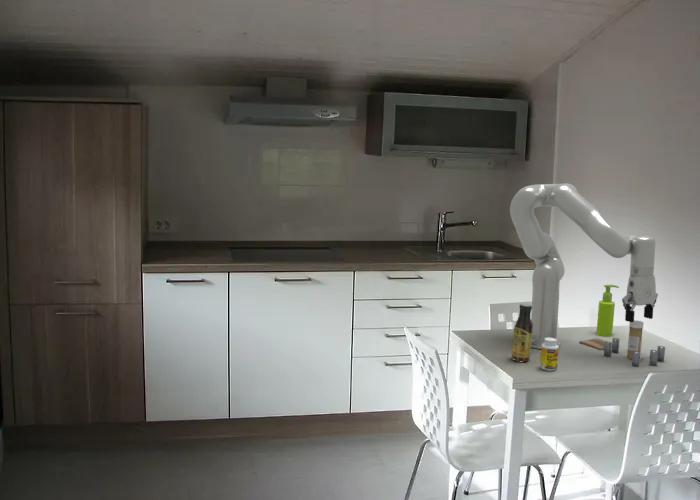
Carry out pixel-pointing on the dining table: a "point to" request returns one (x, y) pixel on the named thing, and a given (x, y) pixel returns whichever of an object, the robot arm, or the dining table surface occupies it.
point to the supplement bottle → (549, 354)
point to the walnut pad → (594, 343)
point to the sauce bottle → (522, 334)
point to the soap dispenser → (606, 313)
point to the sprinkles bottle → (635, 337)
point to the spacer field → (635, 353)
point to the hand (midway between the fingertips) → (638, 319)
